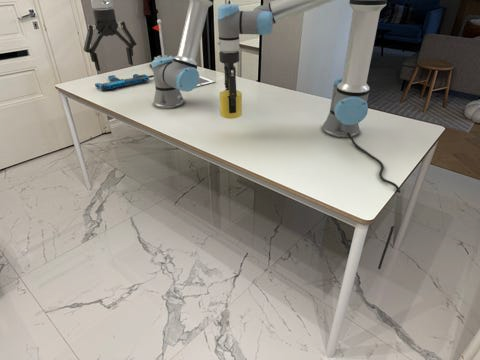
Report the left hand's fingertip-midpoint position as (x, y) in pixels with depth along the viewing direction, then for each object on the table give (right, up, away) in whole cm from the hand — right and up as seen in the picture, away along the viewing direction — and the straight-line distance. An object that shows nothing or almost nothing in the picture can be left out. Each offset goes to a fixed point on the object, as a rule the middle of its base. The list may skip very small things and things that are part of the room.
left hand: (115, 67), depth 137 cm
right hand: (+47, -16, +2) cm, 50 cm away
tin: (+47, -18, +3) cm, 51 cm away
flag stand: (-3, +36, +106) cm, 112 cm away
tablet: (+17, +18, +77) cm, 81 cm away
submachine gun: (-21, +14, +72) cm, 76 cm away
